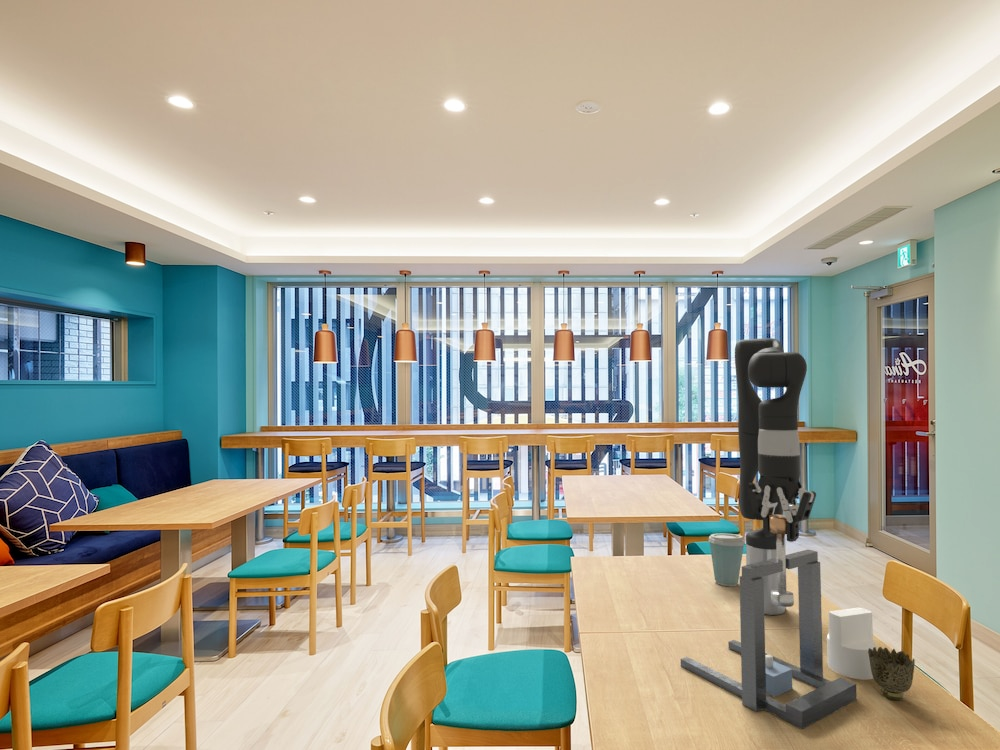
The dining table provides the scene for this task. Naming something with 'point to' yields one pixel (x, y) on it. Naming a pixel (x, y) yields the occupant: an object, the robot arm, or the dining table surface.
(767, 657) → the housing block
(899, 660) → the cup
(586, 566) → the dining table surface
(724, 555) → the disposable coffee cup
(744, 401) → the robot arm
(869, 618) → the base with upright slab
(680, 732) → the dining table surface
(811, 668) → the press frame
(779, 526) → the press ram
